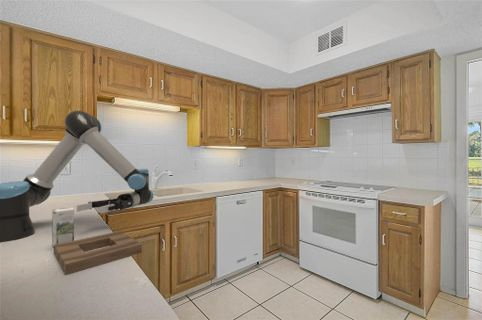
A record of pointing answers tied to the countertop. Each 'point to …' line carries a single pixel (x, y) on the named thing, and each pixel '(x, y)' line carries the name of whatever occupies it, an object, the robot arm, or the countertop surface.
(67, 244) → the hole board
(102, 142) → the robot arm
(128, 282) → the countertop surface
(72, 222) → the syrup box
